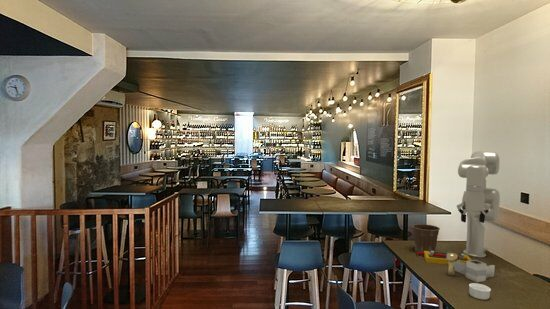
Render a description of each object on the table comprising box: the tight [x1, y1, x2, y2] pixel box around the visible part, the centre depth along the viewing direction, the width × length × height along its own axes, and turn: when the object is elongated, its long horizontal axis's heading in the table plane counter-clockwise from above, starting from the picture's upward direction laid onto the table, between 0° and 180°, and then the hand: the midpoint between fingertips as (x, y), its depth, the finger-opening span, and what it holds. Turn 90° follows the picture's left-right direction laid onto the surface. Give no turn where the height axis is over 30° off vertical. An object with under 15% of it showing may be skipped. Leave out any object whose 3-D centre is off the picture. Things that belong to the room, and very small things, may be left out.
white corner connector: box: [454, 259, 496, 283], centre depth 192 cm, size 16×16×9 cm
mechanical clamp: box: [416, 250, 472, 266], centre depth 211 cm, size 18×6×30 cm
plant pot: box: [412, 223, 441, 254], centre depth 229 cm, size 16×16×16 cm
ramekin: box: [468, 282, 492, 301], centre depth 166 cm, size 9×9×4 cm
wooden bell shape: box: [446, 252, 459, 276], centre depth 191 cm, size 5×5×11 cm
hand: (472, 222), depth 186 cm, fingers open, 9 cm apart
